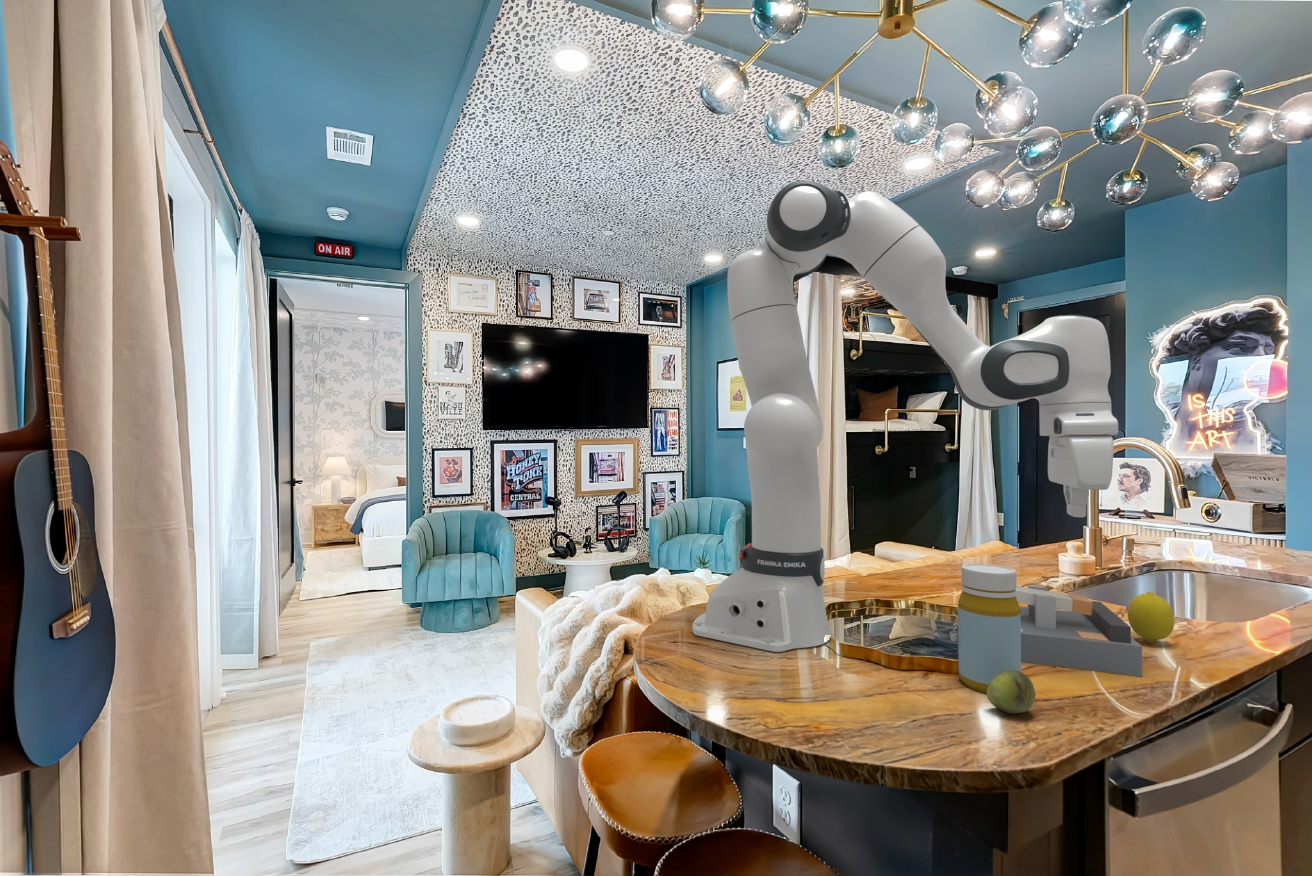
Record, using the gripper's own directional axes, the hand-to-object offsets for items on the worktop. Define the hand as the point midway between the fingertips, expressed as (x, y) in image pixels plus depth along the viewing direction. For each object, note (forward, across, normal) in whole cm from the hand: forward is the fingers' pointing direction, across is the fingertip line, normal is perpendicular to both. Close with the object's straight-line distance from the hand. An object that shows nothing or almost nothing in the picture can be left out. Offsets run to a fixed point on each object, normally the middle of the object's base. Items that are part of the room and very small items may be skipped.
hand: (1076, 516), depth 88 cm
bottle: (+20, +19, -14) cm, 31 cm away
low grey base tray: (+20, 0, -5) cm, 21 cm away
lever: (+13, 0, -5) cm, 14 cm away
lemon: (+20, -9, +11) cm, 25 cm away
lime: (+20, +27, -12) cm, 36 cm away
